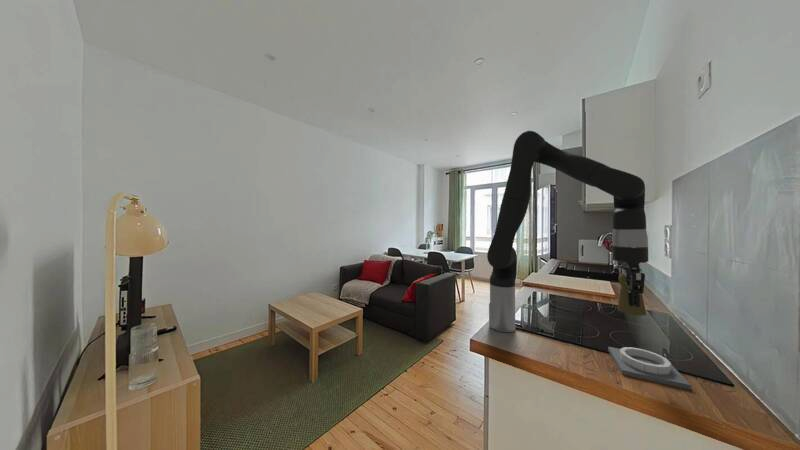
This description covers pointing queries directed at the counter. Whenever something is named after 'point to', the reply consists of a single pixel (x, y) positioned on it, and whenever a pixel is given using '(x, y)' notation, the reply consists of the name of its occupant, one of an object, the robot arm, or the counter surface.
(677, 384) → the stand
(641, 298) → the cork
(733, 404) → the counter surface
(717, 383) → the counter surface
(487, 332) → the counter surface
